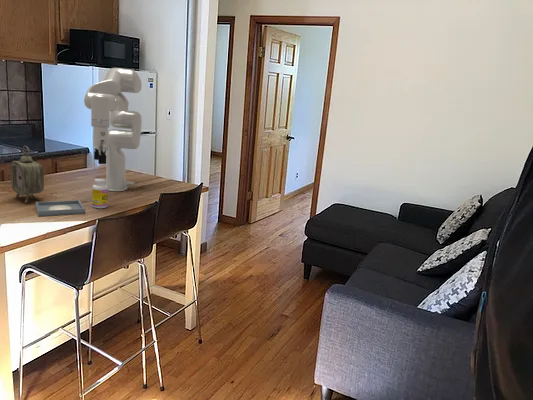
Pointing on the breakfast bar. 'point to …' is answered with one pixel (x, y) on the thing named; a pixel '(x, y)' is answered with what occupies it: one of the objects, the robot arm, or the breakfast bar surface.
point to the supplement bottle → (100, 194)
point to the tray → (59, 208)
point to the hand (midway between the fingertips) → (100, 161)
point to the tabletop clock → (27, 176)
